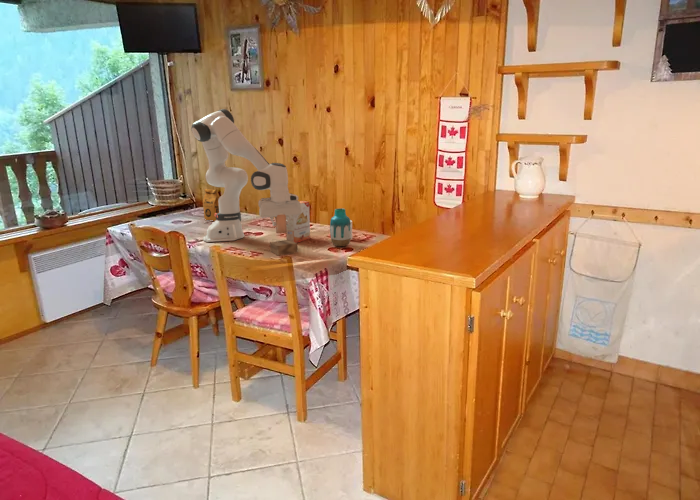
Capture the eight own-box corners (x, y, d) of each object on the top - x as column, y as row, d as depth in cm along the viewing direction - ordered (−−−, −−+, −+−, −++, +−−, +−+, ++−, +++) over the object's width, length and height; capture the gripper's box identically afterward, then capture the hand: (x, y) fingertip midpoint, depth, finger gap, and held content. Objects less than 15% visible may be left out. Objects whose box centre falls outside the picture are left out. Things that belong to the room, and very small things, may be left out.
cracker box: (295, 244, 270) (293, 204, 264) (286, 242, 273) (284, 204, 268) (311, 238, 281) (309, 201, 276) (302, 237, 284) (300, 200, 279)
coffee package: (214, 225, 325) (211, 190, 320) (202, 223, 333) (199, 189, 328) (226, 222, 333) (224, 189, 328) (215, 220, 341) (212, 187, 335)
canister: (277, 233, 247) (276, 214, 245) (275, 231, 252) (274, 212, 250) (287, 232, 249) (286, 213, 247) (285, 230, 254) (284, 211, 251)
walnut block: (278, 256, 247) (278, 246, 246) (270, 252, 255) (270, 242, 254) (297, 253, 252) (296, 243, 251) (288, 249, 260) (288, 239, 259)
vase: (332, 243, 269) (330, 207, 264) (352, 243, 268) (351, 207, 263) (329, 248, 258) (328, 211, 254) (350, 248, 257) (349, 210, 253)
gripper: (259, 199, 240) (261, 228, 243) (301, 196, 247) (302, 224, 250) (257, 197, 246) (258, 225, 249) (298, 195, 252) (299, 222, 256)
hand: (281, 225), depth 250 cm, fingers closed on canister, 5 cm apart
